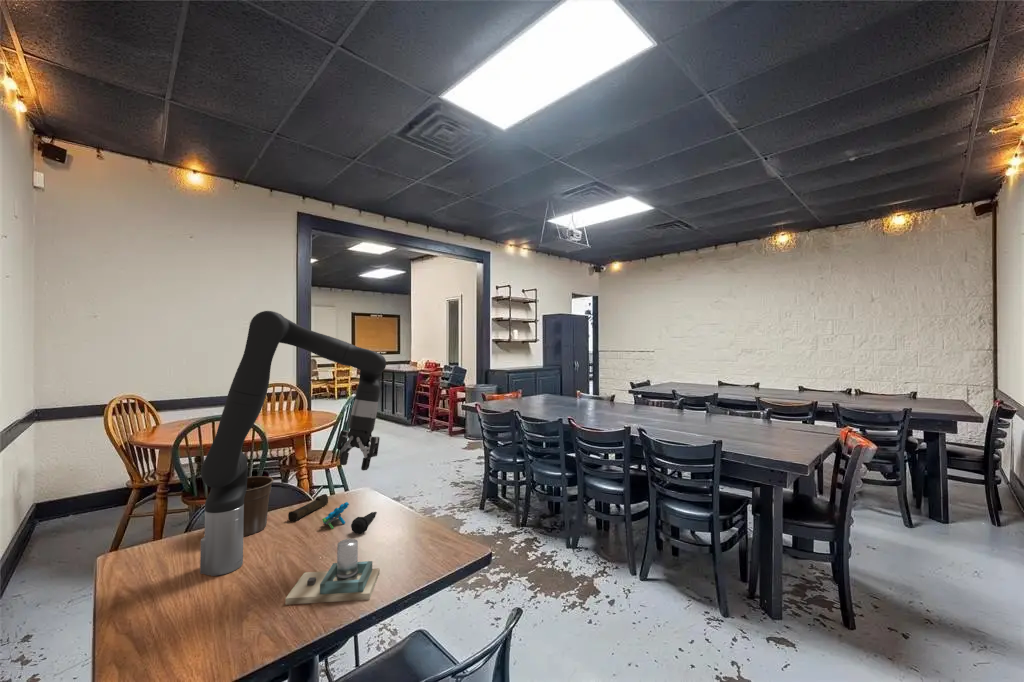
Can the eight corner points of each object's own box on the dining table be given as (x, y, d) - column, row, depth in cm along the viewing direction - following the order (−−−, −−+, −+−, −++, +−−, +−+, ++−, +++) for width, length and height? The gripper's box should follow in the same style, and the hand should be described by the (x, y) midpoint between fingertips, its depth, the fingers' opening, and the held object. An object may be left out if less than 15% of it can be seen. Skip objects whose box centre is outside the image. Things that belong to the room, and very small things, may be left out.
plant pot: (241, 543, 134) (242, 493, 134) (205, 536, 139) (206, 488, 139) (283, 523, 149) (284, 478, 150) (249, 518, 154) (250, 474, 155)
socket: (333, 587, 107) (334, 548, 107) (339, 576, 112) (340, 539, 112) (354, 586, 107) (355, 547, 107) (359, 575, 112) (360, 538, 113)
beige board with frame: (285, 604, 102) (285, 588, 102) (304, 577, 114) (304, 563, 114) (369, 599, 104) (369, 583, 104) (379, 573, 116) (379, 559, 116)
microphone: (371, 522, 159) (350, 539, 139) (367, 507, 159) (346, 521, 140) (384, 517, 159) (366, 534, 139) (380, 502, 160) (362, 516, 140)
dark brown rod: (296, 523, 150) (296, 510, 151) (287, 521, 152) (287, 508, 152) (333, 504, 169) (333, 493, 169) (325, 503, 170) (325, 492, 170)
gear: (339, 511, 157) (351, 496, 153) (348, 523, 155) (361, 509, 152) (314, 526, 147) (326, 510, 143) (324, 540, 145) (336, 524, 142)
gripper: (338, 411, 131) (327, 464, 129) (373, 417, 126) (362, 472, 123) (355, 412, 138) (345, 462, 135) (389, 418, 132) (379, 470, 130)
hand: (353, 467), depth 129 cm, fingers open, 8 cm apart
